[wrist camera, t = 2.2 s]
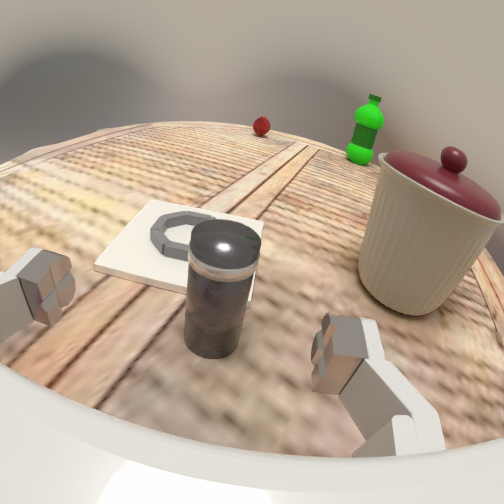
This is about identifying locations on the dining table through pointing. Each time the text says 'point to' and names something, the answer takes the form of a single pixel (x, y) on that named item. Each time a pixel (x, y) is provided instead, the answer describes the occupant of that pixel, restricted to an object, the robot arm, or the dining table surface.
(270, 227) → the dining table surface
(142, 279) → the mount board
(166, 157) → the dining table surface
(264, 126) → the onion
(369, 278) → the canister
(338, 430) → the dining table surface
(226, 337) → the lens tube
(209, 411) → the dining table surface
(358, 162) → the plastic bottle
